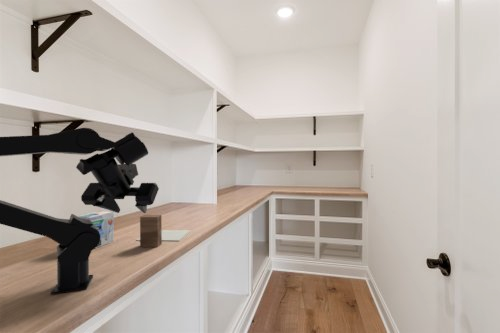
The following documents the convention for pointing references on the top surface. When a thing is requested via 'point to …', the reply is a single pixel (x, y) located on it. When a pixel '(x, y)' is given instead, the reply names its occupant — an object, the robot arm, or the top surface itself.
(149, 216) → the walnut block
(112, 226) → the light bulb box
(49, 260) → the top surface
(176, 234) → the mat
